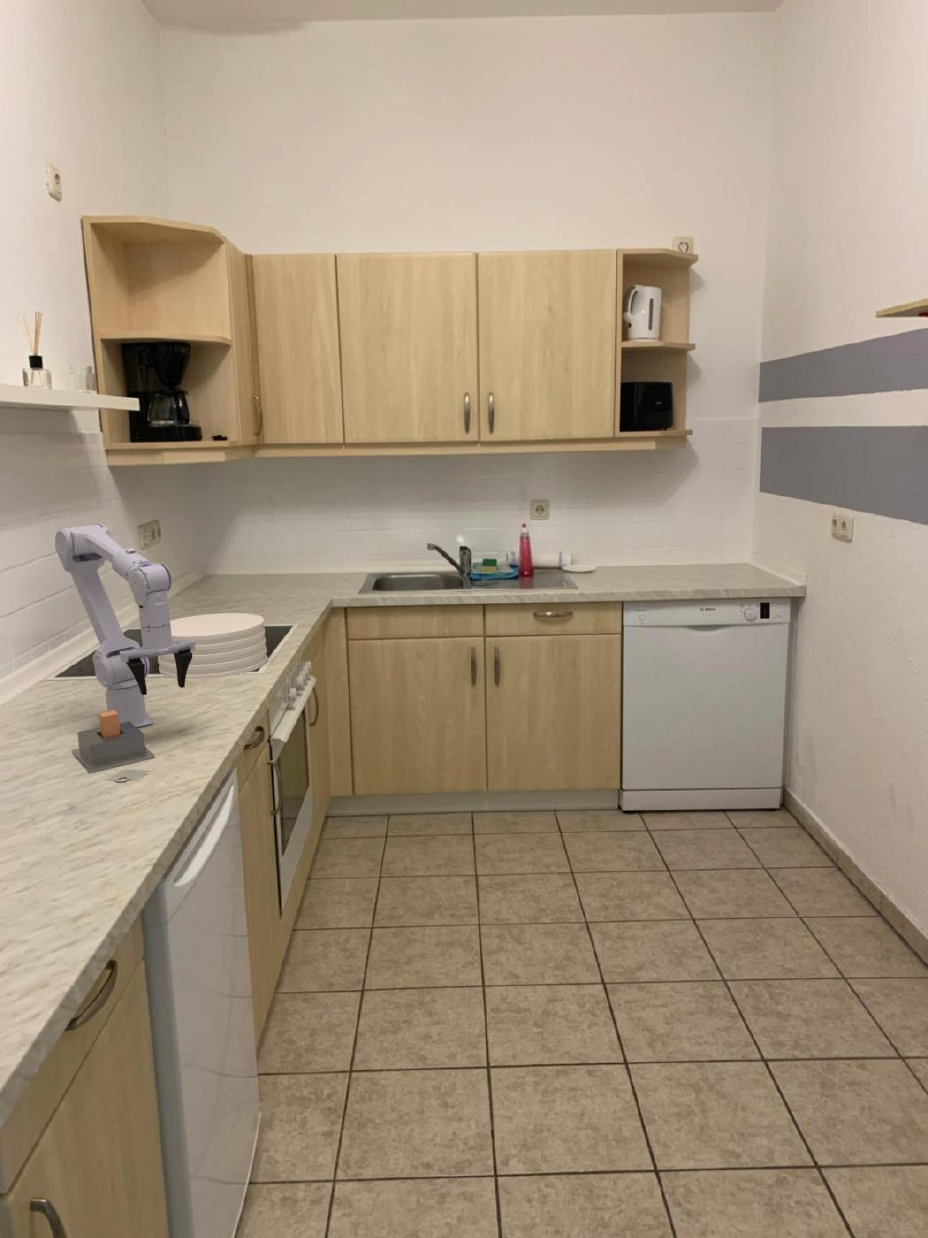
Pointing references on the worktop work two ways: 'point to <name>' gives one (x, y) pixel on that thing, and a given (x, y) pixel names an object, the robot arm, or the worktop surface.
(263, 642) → the plate stack
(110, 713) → the tan rectangular block
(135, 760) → the slotted block
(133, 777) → the mounting bracket
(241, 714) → the worktop surface
